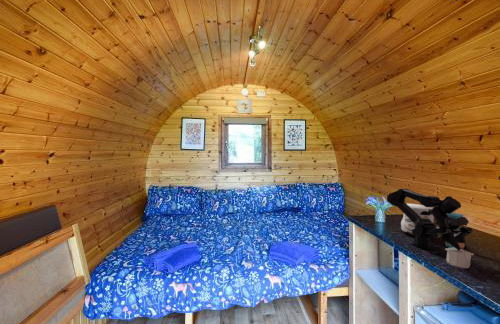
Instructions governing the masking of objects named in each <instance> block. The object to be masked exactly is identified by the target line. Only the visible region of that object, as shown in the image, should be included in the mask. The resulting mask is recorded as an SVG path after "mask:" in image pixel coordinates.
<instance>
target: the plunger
mask: <svg viewBox="0 0 500 324" xmlns="http://www.w3.org/2000/svg"><path fill="white" fill-rule="evenodd" d="M457 243H458V245H459V247H460V250H458V252H461V249H462V250H464V246H465V243H466V242H465V243H463V242H458V241H457Z"/></svg>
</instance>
